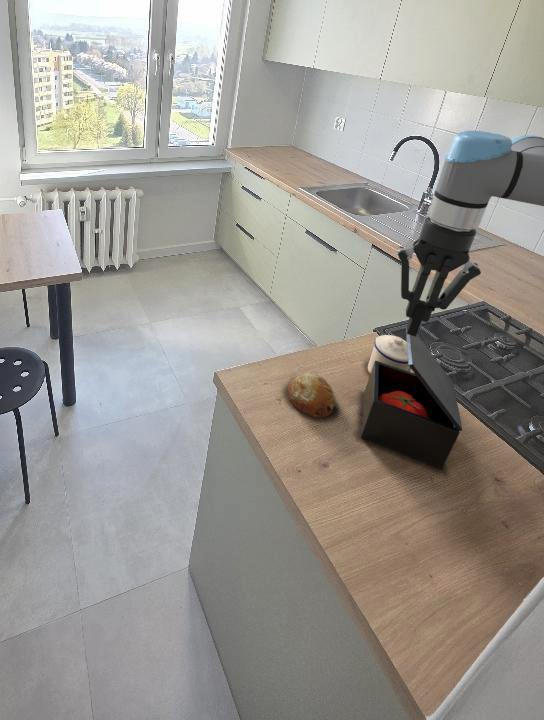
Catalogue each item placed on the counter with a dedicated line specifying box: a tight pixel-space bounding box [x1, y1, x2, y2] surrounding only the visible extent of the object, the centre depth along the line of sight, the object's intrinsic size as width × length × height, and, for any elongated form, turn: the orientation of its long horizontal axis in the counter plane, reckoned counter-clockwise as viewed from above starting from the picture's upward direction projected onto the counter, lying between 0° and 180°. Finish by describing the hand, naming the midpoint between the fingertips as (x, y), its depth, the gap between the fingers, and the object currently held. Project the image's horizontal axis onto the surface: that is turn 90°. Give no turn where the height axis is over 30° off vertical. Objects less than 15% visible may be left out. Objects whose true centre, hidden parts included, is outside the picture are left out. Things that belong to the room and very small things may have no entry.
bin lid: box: [405, 325, 463, 432], centre depth 82 cm, size 16×13×1 cm
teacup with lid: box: [367, 334, 412, 374], centre depth 103 cm, size 12×9×12 cm
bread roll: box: [287, 372, 338, 418], centre depth 95 cm, size 10×10×8 cm
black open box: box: [360, 360, 461, 471], centre depth 87 cm, size 15×13×11 cm
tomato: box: [378, 391, 429, 418], centre depth 88 cm, size 9×10×8 cm
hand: (411, 331), depth 81 cm, fingers closed
